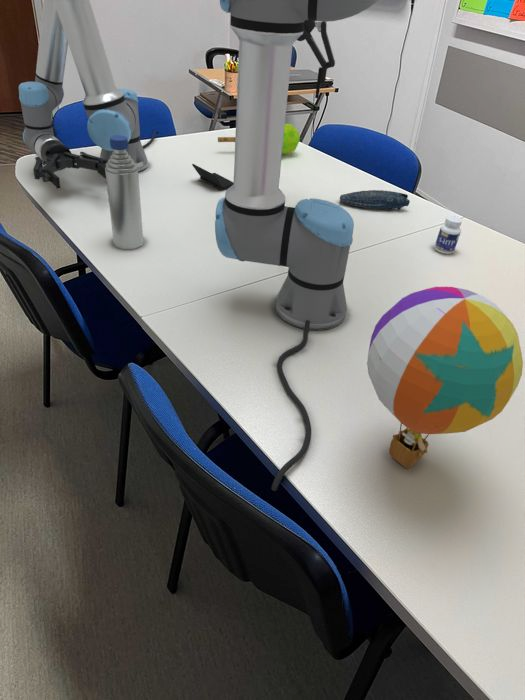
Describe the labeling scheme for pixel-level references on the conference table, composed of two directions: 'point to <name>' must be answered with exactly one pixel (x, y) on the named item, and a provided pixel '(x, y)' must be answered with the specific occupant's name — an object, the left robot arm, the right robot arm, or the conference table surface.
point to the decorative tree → (289, 139)
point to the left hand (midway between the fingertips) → (84, 179)
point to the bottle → (124, 200)
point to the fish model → (376, 199)
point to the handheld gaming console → (213, 178)
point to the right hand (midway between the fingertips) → (290, 94)
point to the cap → (119, 142)
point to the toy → (442, 365)
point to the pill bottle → (448, 235)
